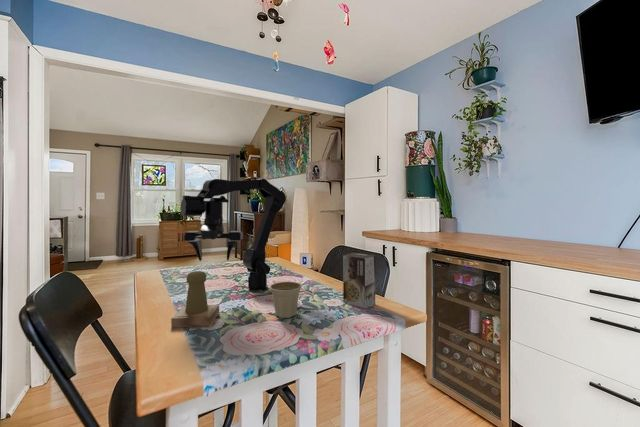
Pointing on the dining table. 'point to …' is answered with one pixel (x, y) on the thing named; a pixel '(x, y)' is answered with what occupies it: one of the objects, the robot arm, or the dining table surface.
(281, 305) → the flower pot
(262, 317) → the dining table surface
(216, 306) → the walnut plinth
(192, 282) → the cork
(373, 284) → the coffee box
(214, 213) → the robot arm
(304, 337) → the dining table surface
